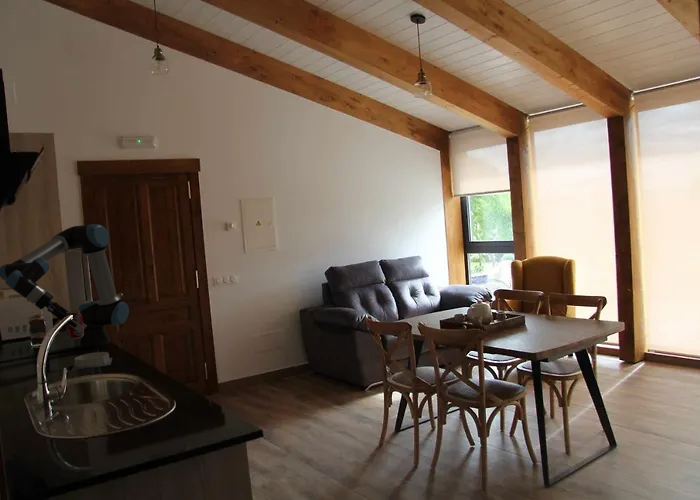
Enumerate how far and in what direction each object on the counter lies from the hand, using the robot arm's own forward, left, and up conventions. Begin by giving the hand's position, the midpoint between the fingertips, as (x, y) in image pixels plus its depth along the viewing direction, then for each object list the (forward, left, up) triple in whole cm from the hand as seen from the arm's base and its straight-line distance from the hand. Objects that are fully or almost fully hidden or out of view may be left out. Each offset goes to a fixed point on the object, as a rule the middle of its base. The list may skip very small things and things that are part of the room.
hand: (83, 329), depth 276 cm
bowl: (+1, +2, -16) cm, 16 cm away
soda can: (0, -4, -4) cm, 5 cm away
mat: (+1, +2, -16) cm, 16 cm away
